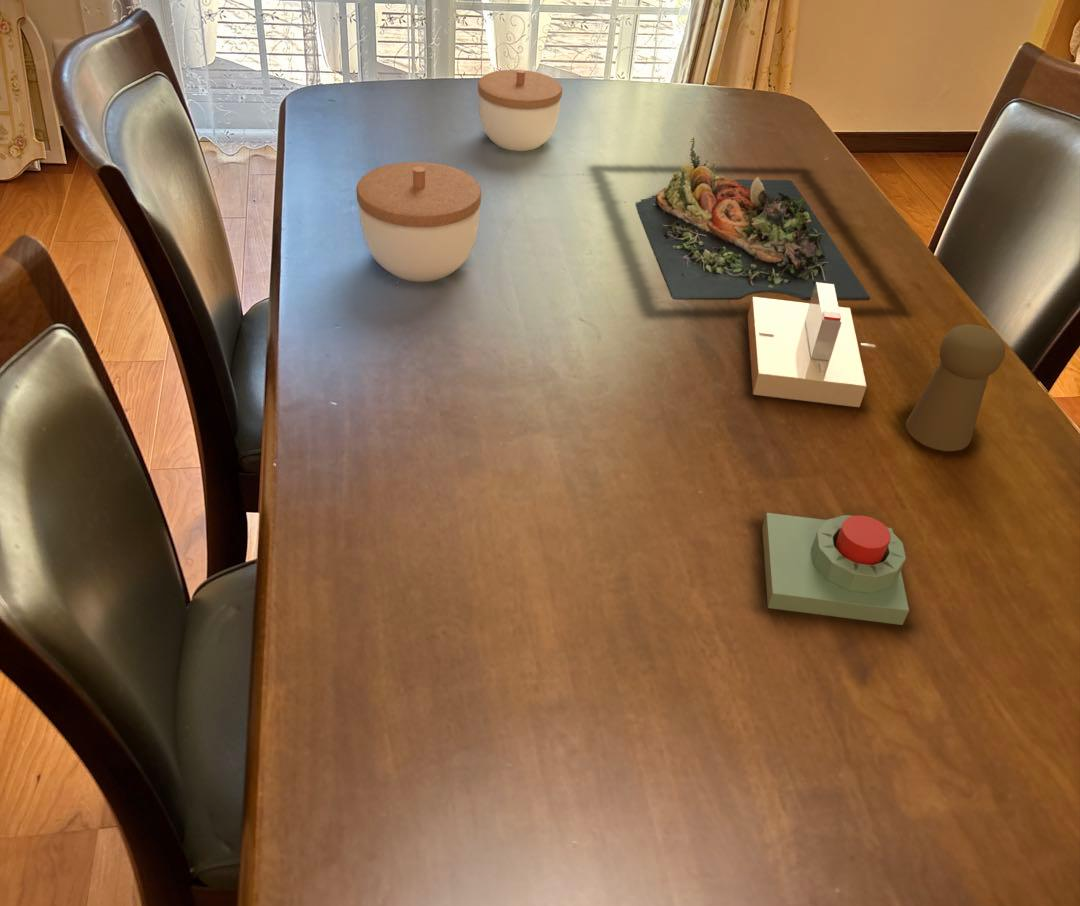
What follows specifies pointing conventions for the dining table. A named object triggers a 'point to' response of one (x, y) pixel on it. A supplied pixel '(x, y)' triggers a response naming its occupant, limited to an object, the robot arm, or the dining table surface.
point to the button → (863, 540)
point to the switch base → (802, 356)
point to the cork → (956, 388)
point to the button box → (829, 572)
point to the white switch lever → (823, 321)
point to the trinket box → (519, 108)
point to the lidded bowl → (419, 218)
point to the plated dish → (740, 238)
